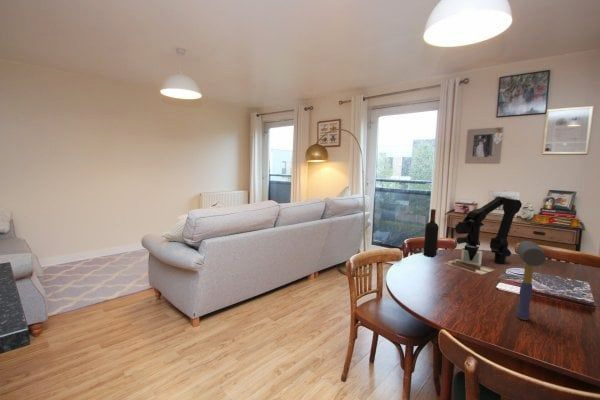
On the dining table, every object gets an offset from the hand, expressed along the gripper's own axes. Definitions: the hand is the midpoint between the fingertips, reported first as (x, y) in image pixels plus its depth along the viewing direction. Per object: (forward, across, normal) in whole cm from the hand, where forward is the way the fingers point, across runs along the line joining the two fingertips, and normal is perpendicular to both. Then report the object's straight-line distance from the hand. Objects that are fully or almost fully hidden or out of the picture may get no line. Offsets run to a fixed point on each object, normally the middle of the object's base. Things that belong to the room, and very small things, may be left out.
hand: (471, 259), depth 171 cm
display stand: (+4, +4, -1) cm, 6 cm away
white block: (+2, 0, 0) cm, 2 cm away
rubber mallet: (+4, +54, +23) cm, 59 cm away
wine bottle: (+4, -6, -24) cm, 25 cm away
